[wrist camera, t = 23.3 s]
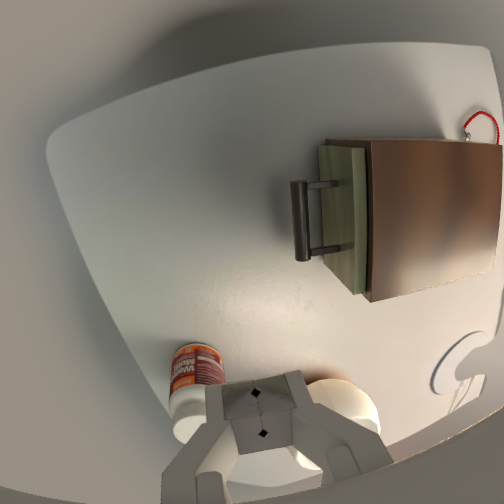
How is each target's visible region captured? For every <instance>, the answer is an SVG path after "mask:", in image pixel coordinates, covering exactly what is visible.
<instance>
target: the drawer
mask: <svg viewBox="0 0 504 504" xmlns="http://www.w3.org/2000/svg"><path fill="white" fill-rule="evenodd" d="M318 156H319V169H320V181H314V182H306V180H294V181H290V190H291V203H292V217H293V231H294V246H295V259H296V260H297V261H300V262H304V261H308V260H310V259H311V256H318V255H324V264H325V265H326V266H327V267H328V268H329V269H330V270H331V271H332V272H333V273H334V274H335V276H336V277H337V278H338V279H339V280H340V281H341V282H342V283H343V284H344V285H345V286H346V287H347V288H348V289H349V291H350V292H351V293H352V294H353V295H355V294H360V293H365V288H366V272H367V273H368V251H369V233H368V232H367V187H366V176H368V166H367V150H366V151H365V148H362V147H349V146H334V145H322V146H318ZM312 189H321V202H322V223H323V247H316V248H310V231H309V213H308V197H307V190H312Z"/></svg>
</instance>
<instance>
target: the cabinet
mask: <svg viewBox="0 0 504 504" xmlns="http://www.w3.org/2000/svg"><path fill="white" fill-rule="evenodd" d="M326 145H334V146H349V147H362V148H365V151H366V150H367V166H368V195H369V251H368V273H367V272H366V288H365V293H361V294H362V295H363V296H364V297H365V298H366V299H367V300H368V301H369V302H370V303H371V302H375V301H380V300H384V299H388V298H392V297H397V296H401V295H405V294H409V293H413V292H417V291H420V290H424V289H428V288H432V287H436V286H439V285H443V284H447V283H450V282H454V281H457V280H461V279H464V278H468V277H471V276H475V275H478V274H481V273H485V272H488V271H491V270H493V266H494V260H495V253H496V246H497V239H498V230H499V221H500V210H501V195H502V166H503V152H502V145H496V144H489V143H480V142H472V141H462V140H451V139H433V138H341V139H326Z"/></svg>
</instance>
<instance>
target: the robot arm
mask: <svg viewBox="0 0 504 504" xmlns="http://www.w3.org/2000/svg"><path fill="white" fill-rule="evenodd" d="M205 408H206V423H202V424H201V425H200V426H199V428H198V429H197V430H196V431H195V433H194V434H193V435H192V437H191V438H190V439H189V440H188V442H187V443H186V444H185V445H184V447H183V448H182V449H181V451H180V452H179V453H178V454H177V456H176V457H175V458H174V459H173V461H172V462H171V463H170V464H169V465H168V467H167V468H166V469H165V470H164V472H163V473H162V484H161V504H233V503H232V500H231V498H230V495H229V492H228V490H227V487H226V484H225V483H226V481H227V479H228V478H229V476H230V474H231V472H232V470H233V468H234V466H235V464H236V462H237V460H238V458H239V455H242V454H248V453H253V452H259V451H264V450H269V449H275V448H281V447H287V446H292V445H293V447H294V448H295V449H296V450H298V451H299V452H300V453H301V454H303V455H304V456H305V457H307V458H308V459H309V460H310V461H312V462H313V463H314V464H316V465H317V466H318V467H319V468H321V469H322V470H323V476H322V484H321V487H318V488H315V489H310V490H307V491H302V492H298V493H293V494H289V495H284V496H278V497H273V498H268V499H262V500H256V501H249V502H242V503H235V504H504V406H503V407H501V408H499V409H498V410H496V411H495V412H493V413H491V414H490V415H488V416H487V417H485V418H483V419H482V420H480V421H478V422H477V423H475V424H473V425H471V426H470V427H468V428H466V429H464V430H462V431H461V432H459V433H457V434H455V435H453V436H451V437H449V438H447V439H446V440H443V441H441V442H439V443H437V444H435V445H433V446H431V447H429V448H427V449H425V450H422V451H420V452H418V453H416V454H413V455H411V456H409V457H407V458H404V459H402V460H399V461H397V462H394V461H393V460H392V458H391V456H390V454H389V452H388V451H387V449H386V447H385V445H384V444H383V442H382V440H381V438H380V437H379V435H378V433H376V432H374V431H372V430H370V429H368V428H366V427H364V426H362V425H360V424H358V423H356V422H354V421H352V420H350V419H348V418H346V417H344V416H342V415H341V414H339V413H337V412H335V411H333V410H331V409H329V408H328V407H326V406H324V405H322V404H320V403H316V404H314V402H313V399H312V397H311V395H310V392H309V390H308V388H307V385H306V383H305V381H304V379H303V376H302V374H301V372H300V371H299V370H296V371H292V372H287V373H283V374H279V375H273V376H268V377H263V378H257V379H252V380H245V381H238V382H230V383H222V384H216V385H207V386H205ZM0 504H84V503H75V502H70V501H63V500H57V499H52V498H47V497H42V496H37V495H33V494H28V493H24V492H20V491H16V490H12V489H9V488H5V487H2V486H0Z"/></svg>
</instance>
